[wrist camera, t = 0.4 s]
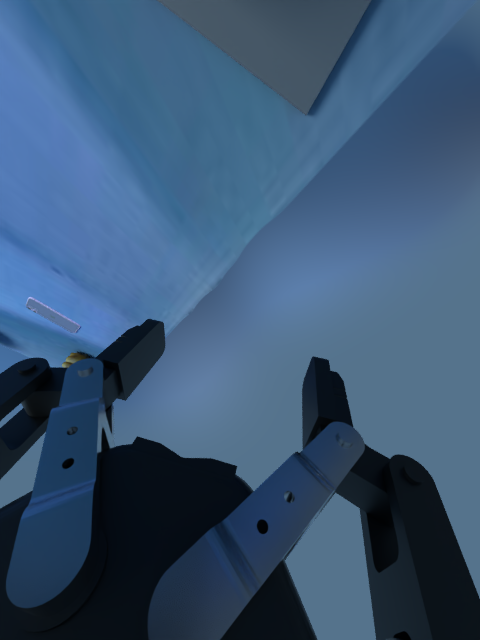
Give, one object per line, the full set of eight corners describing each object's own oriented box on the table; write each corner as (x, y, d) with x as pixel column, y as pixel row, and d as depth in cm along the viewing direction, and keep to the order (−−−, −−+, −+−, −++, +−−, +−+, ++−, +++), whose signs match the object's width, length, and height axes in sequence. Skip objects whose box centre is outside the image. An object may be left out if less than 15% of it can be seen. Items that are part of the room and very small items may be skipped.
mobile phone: (73, 334, 79) (24, 307, 72) (75, 332, 79) (26, 305, 73) (80, 327, 74) (27, 297, 67) (82, 324, 75) (30, 294, 68)
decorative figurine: (68, 348, 89) (38, 385, 79) (85, 349, 86) (56, 387, 77) (86, 362, 96) (60, 398, 86) (102, 363, 93) (77, 400, 83)
